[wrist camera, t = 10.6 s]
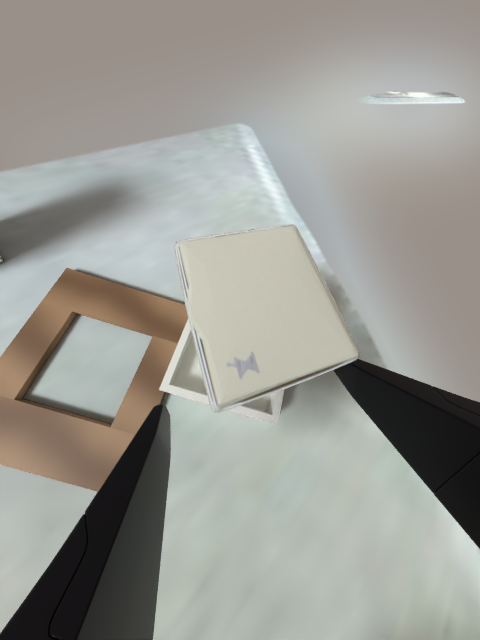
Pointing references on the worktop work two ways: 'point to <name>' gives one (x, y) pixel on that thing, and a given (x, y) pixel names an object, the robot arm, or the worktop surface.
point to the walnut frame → (68, 428)
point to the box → (259, 314)
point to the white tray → (190, 384)
